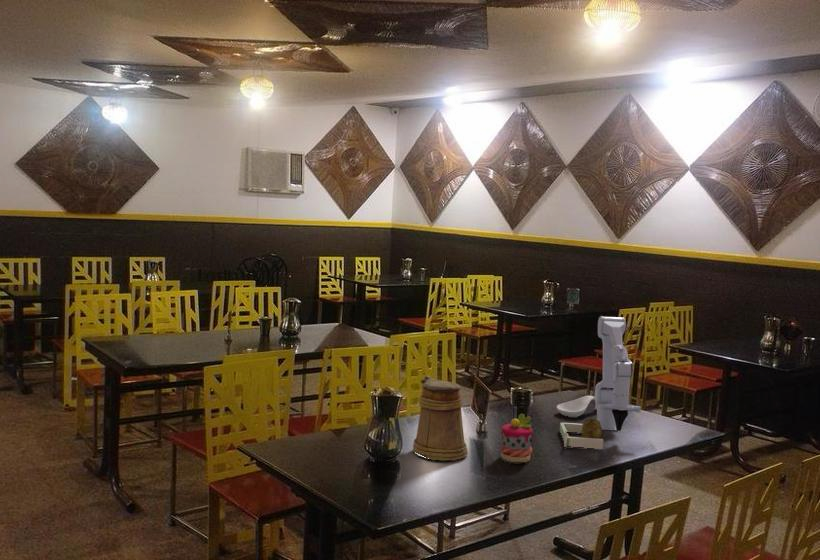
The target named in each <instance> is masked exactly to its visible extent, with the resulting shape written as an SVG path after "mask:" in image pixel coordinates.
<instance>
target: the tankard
mask: <svg viewBox="0 0 820 560" xmlns="http://www.w3.org/2000/svg"><path fill="white" fill-rule="evenodd" d="M420 383H421V384H422V387H421V395H420V398H419V402H418V406H419V407H420V411H419V419H418V425H417V429H416V430H417V431H416V438H415V439H414V440H413V444H412V451H413V450H414V451H415V452H416V453H418V454H420V455H422V456H424V457H426V458H429V459H433V460H432V461H435V460H452V461H457V459H459V460H461V458H462V459H464V458H466V457H467V456H468V454H469V451H468V447H467V443H466V442H465V435H464V434H465V433H464V425H463V416H462V415H463V414H462V413H463V412H462V406H463V399H462V398H463V397H462V395H460V390H461V385H460V384H459V383H456V382H452V381H446V380H440V379H436V378H433V377H432V376H431V375H430V374H426V375H424V378H422V379H421V380H420Z"/></svg>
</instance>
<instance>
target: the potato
mask: <svg viewBox="0 0 820 560" xmlns="http://www.w3.org/2000/svg"><path fill="white" fill-rule="evenodd" d="M582 424H583V426H582V434H581V438H595V439H601V436H602V433H603V432H602V431H603V430H602V427H601V424H600V422H599V421H598V420H597V418H587V419H586V420H585V421H584V422H583V423H582Z"/></svg>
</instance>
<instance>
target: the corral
mask: <svg viewBox="0 0 820 560" xmlns="http://www.w3.org/2000/svg"><path fill="white" fill-rule="evenodd" d="M583 424H584V423H576V422H575V423H573V422H560V423H559V433H561V434H560V436H561V435H562V436H561V438H563V439H562V442H563V441H564V440H565V430H567V432H577V433H576V434H580V433H582V426H583ZM566 446H571V447H570V448H573V447H584V448H583V449H587V448H594V449H593V450H602V449H603V450H604V439H603V438H600V439H595V438H582V437H580V436H579V437H577V436H569V433H567V444H566Z"/></svg>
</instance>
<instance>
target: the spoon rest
mask: <svg viewBox="0 0 820 560" xmlns="http://www.w3.org/2000/svg"><path fill="white" fill-rule="evenodd" d="M593 400H594V401H595V398H594V396H593V395H585V396H582V397H579V398H575V399H574V400H569V401H566V402H563V403H559V404H557V405H556V409H557V411H558V412H559V413H560V414H561V415H562V416H564V417H567V416H568V418H579V417H580V416H581V415H583V414H584V413H585V412H586V410H587V409H588V406H589V405H590V403H591V401H593ZM597 408H598V404H596V403H595V407H594V409H595V410H596V411H597ZM578 416H579V417H578Z"/></svg>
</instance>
